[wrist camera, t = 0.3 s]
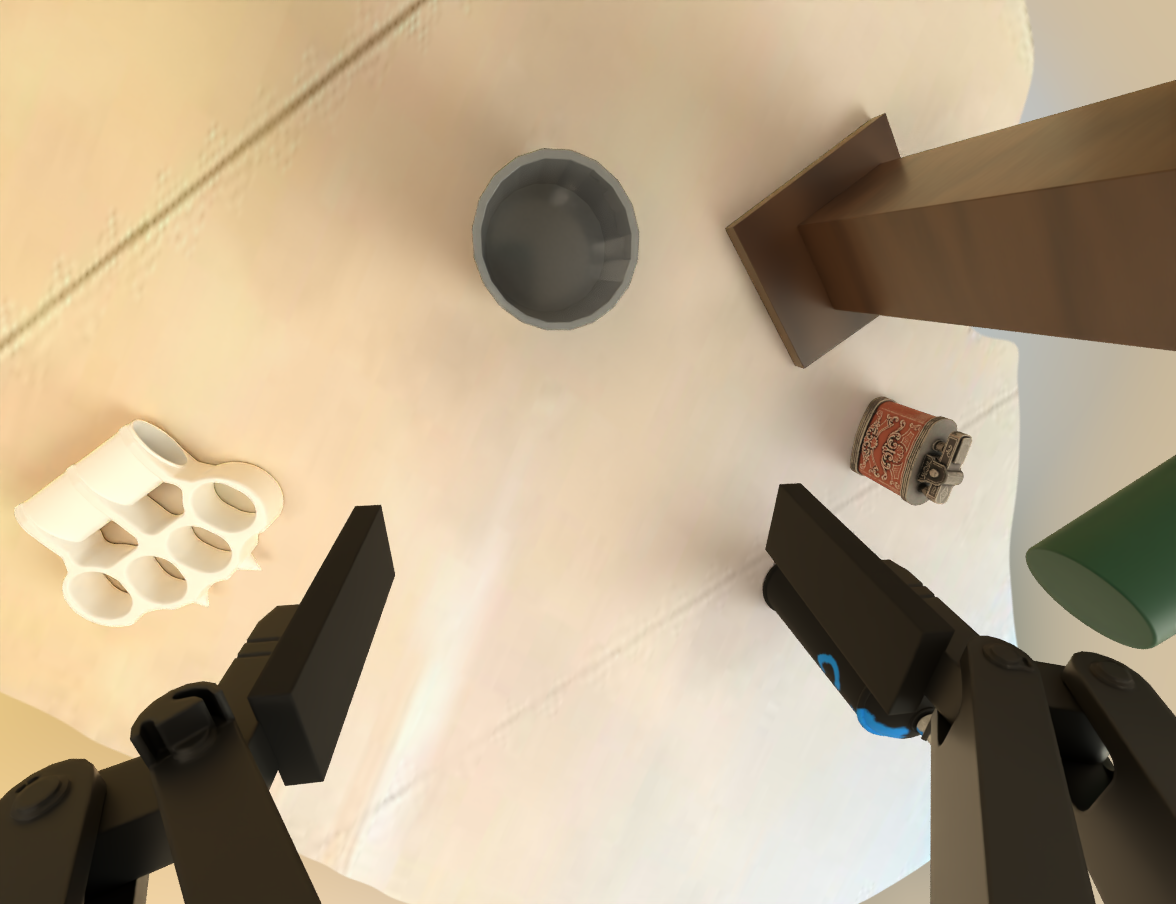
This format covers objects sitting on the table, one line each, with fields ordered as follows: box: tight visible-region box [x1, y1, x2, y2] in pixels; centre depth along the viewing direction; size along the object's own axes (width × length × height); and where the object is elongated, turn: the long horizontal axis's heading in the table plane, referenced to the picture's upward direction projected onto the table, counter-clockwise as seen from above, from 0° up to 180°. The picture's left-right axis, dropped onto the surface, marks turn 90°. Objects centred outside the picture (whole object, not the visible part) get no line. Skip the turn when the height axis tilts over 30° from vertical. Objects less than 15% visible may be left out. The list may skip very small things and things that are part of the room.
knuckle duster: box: [14, 420, 283, 627], centre depth 39 cm, size 3×18×15 cm
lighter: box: [850, 397, 972, 505], centre depth 44 cm, size 8×3×10 cm, turn 173°
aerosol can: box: [763, 565, 935, 745], centre depth 44 cm, size 8×8×20 cm
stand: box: [726, 80, 1176, 368], centre depth 27 cm, size 15×14×31 cm
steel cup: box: [472, 148, 639, 330], centre depth 33 cm, size 10×10×10 cm
